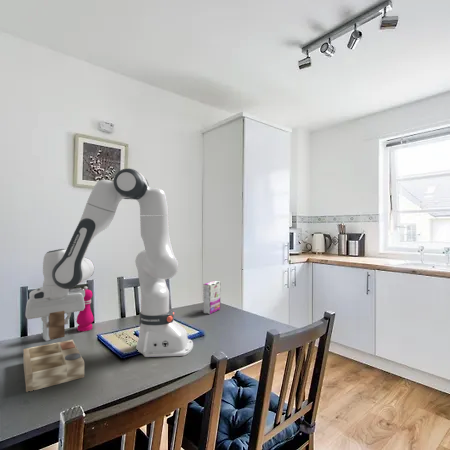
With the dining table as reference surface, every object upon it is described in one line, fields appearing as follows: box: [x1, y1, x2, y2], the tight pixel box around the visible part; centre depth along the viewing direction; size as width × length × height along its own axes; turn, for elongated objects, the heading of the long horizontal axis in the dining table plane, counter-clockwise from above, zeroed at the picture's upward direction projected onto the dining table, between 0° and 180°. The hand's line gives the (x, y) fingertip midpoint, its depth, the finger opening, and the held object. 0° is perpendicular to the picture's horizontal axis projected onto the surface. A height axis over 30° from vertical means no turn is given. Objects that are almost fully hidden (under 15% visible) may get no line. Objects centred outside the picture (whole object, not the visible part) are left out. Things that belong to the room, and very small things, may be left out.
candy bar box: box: [202, 280, 221, 315], centre depth 171 cm, size 11×5×16 cm, turn 149°
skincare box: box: [42, 316, 53, 341], centre depth 128 cm, size 6×4×12 cm
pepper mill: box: [76, 285, 95, 332], centre depth 139 cm, size 7×7×20 cm
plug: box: [48, 311, 66, 341], centre depth 117 cm, size 5×5×11 cm
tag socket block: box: [22, 339, 85, 393], centre depth 100 cm, size 16×22×5 cm
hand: (56, 325), depth 117 cm, fingers closed on plug, 5 cm apart
